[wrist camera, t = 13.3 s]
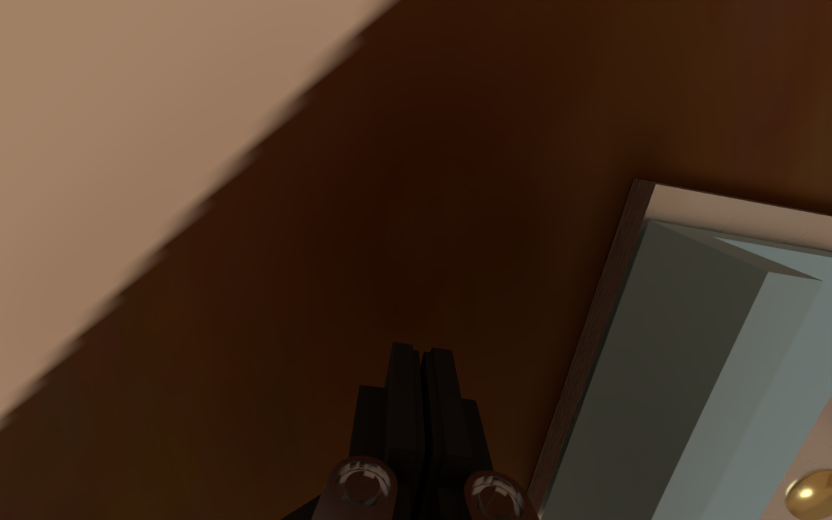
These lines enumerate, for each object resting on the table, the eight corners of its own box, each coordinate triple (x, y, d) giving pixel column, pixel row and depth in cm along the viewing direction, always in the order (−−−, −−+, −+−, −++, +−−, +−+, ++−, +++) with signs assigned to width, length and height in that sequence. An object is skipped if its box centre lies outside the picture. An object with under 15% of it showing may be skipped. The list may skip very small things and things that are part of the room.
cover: (537, 528, 16) (582, 665, 12) (649, 220, 12) (768, 271, 8) (709, 546, 17) (806, 682, 13) (866, 258, 13) (1074, 323, 9)
